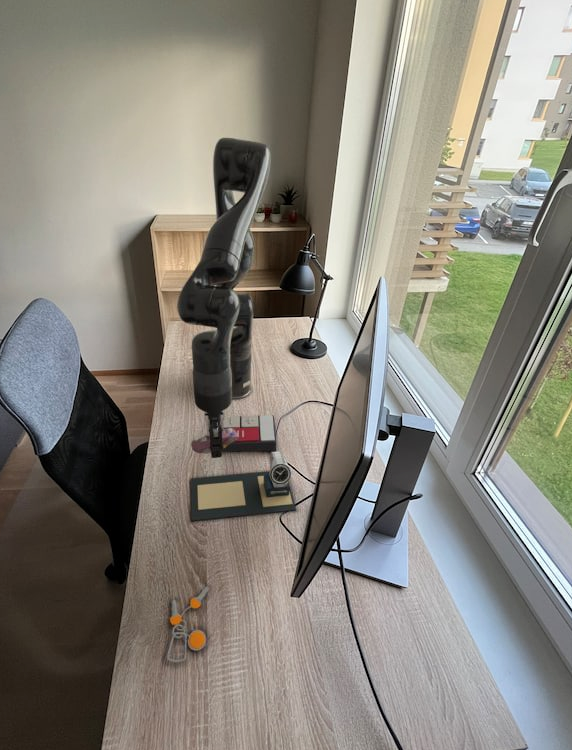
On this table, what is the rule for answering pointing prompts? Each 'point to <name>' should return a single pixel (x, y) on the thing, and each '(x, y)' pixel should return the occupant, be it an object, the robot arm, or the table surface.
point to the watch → (277, 476)
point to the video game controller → (203, 443)
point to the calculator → (252, 432)
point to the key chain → (196, 637)
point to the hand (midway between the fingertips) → (215, 443)
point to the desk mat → (235, 497)
